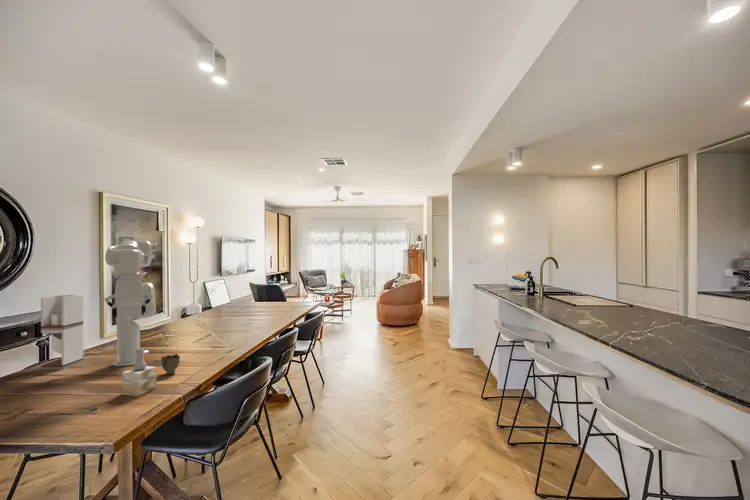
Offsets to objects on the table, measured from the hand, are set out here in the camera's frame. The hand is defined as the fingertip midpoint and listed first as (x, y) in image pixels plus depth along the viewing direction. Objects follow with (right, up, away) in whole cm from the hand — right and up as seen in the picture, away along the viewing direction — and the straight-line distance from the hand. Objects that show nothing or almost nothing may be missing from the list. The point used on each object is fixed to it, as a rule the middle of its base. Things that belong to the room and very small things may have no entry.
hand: (129, 315), depth 148 cm
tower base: (+14, -28, -13) cm, 34 cm away
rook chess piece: (+14, -19, -13) cm, 27 cm away
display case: (-48, -29, +20) cm, 60 cm away
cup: (+14, -29, +7) cm, 32 cm away
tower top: (+14, -24, -13) cm, 30 cm away
